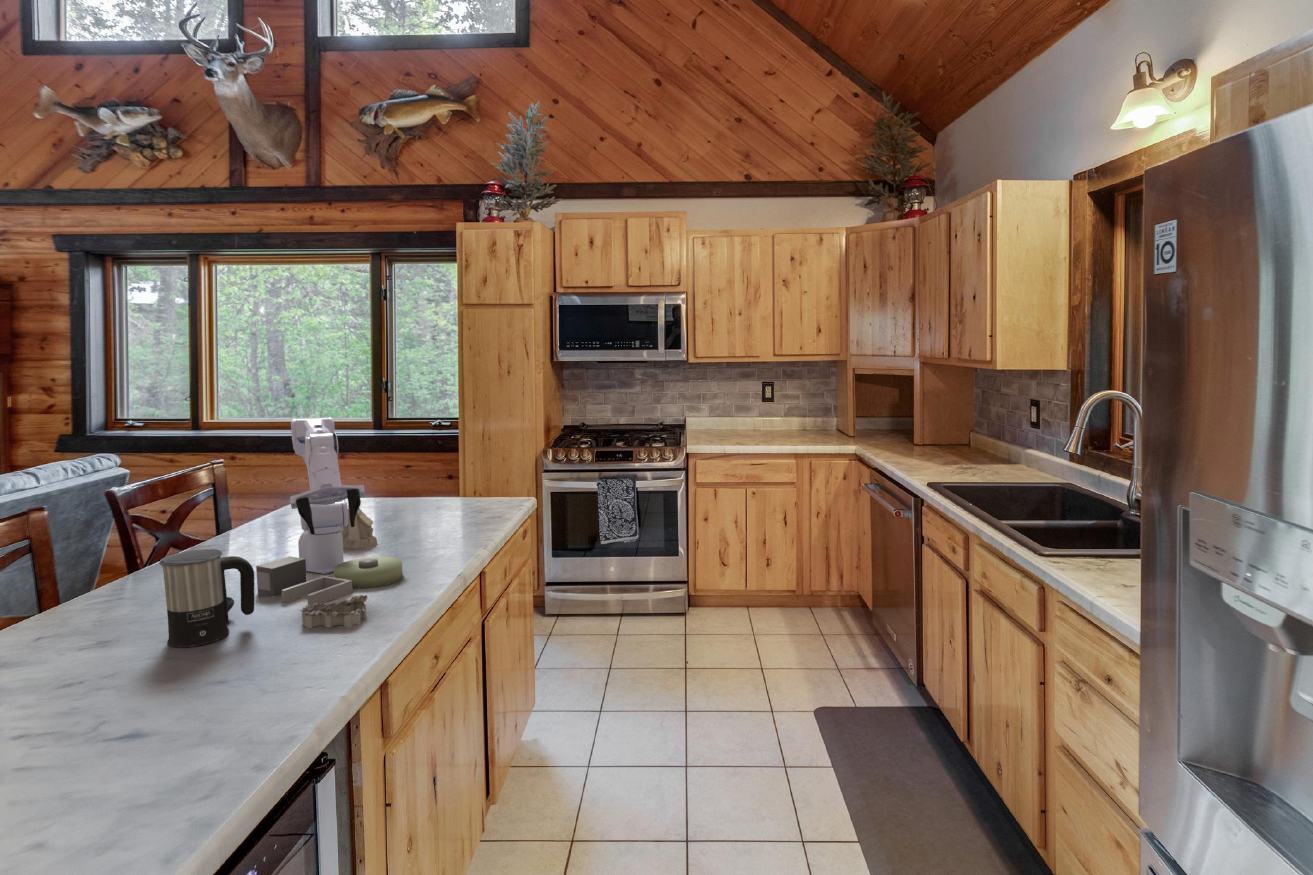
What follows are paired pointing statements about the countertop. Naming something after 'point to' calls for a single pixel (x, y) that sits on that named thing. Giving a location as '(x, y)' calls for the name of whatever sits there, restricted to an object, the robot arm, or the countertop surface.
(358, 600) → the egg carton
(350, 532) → the ceramic cottage
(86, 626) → the countertop surface
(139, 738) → the countertop surface
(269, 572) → the grey block with ledge
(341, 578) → the green disc with bracket
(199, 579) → the milk frother
